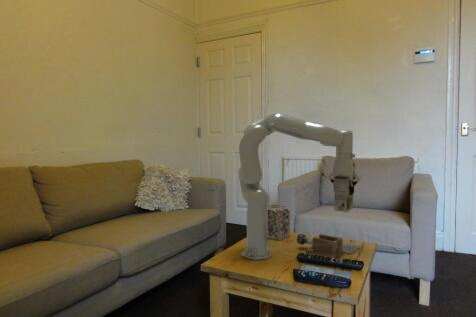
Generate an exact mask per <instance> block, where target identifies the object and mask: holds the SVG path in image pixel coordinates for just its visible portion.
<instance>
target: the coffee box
mask: <svg viewBox="0 0 476 317" xmlns="http://www.w3.org/2000/svg"><path fill="white" fill-rule="evenodd" d="M334 180H335V192H334V191H333V192H334V199H333V202H334V205H333V206H334V211H336V212H337V211H338V212H342V213H343V212H344V213H348V212H349V211H351V210H353V208H354V194H353V195H349V187H350V181H349V178H348V177H338V176H336V177H335V179H334Z"/></svg>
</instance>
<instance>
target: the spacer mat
mask: <svg viewBox="0 0 476 317" xmlns="http://www.w3.org/2000/svg"><path fill="white" fill-rule="evenodd" d="M359 249H361V246H359V245H354V244H349V243H343V254H346V255H352V254H354V253H355V252H356V251H358V250H359Z"/></svg>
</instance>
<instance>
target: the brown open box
mask: <svg viewBox="0 0 476 317" xmlns="http://www.w3.org/2000/svg"><path fill="white" fill-rule="evenodd" d="M312 238H313V245H311V246H310V247H309V248H307V249H306V250H305V254H307V255H311V254H313V255H312V256H315V255H318V256H317V257H319V256H326V257H331V258H336V259H338V258H340V256H342V255H344V253H343V240H344V239H343V237H338V236H333V235H328V234H321V233H320V234H319V235H318V237H312Z"/></svg>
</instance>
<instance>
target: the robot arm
mask: <svg viewBox="0 0 476 317" xmlns="http://www.w3.org/2000/svg"><path fill="white" fill-rule="evenodd" d="M273 133H281V134H284V135H286V136H289V137H290V136H291V137H294V138H296V139H301V140H307V141H314V142H318V143H320V144H321V145H322V146H326V147H335V159H334V161H333V166H332V172H331V173H330V174H329V175H328V176H327V178H328V179H329V181H330V182H331V184H332V185H333V192H335V177H336V176H338V177H348V178H349V181H350V187H349V195H353V196H354V194H355V186H356V185H357V184H358V183H359V182H360V181H361V180H362V178H361V177H360V176H359V175H358V174H357V168H356V161H355V159H354V158H356V154H354V153H353V152H354V151H353V150H354V149H353V144H354V142H353V141H354V135H353V134H354V133H353V131H352V130H343V129H342V130H339V129H335V128H332V127H329V126H326V125H322V124H318V123H314V122H311V121H309V120H308V121H307V120H304V119H300V118H297V117H294V116H290V115H288V114H284V113H282V112H275V113H271V114H268V115H267V116H265V117H263V118H261V119H259V120H257V121H254V122H253V123H250V124H249V125H247V126H246V127H245V129H244V130H243V135H242V137H241V140H240V141H239V146H238V155H239V160H240V161H239V162H240V167H239V169H238V179H239V184H240V188H241V194H242V198H243V200H244V201H245V203H247V204H246V205H247V207H246V209H247V210H246V247H245V250H243V251H241V252H240V255H241V257H245V258H247V259H249V260H256V261H257V260H259V261H260V260H266V259H269V258H271V256H272V252H271V251H270V249H269V242H268V241H269V238H268V206H269V205H270V204H269V202H270V201H269V199H270V198H269V195H268V192H267V191H266V189H264V188H262V187H261V181H262V180H263V170H262V167H261V162H260V157H259V147H260V144H262V142H263V141H264V140H266V138H267V136H270V135H271V134H273Z"/></svg>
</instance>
